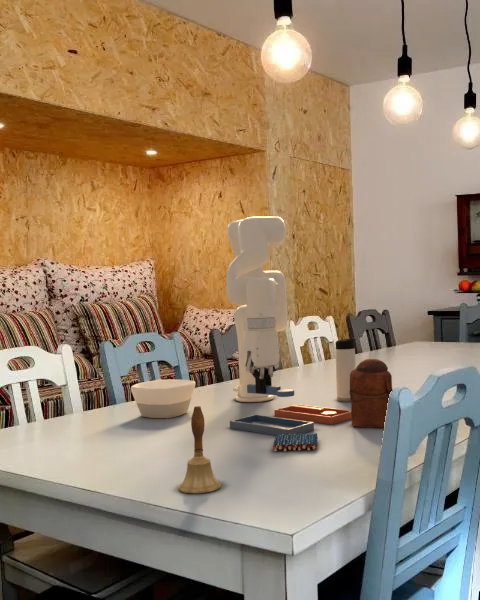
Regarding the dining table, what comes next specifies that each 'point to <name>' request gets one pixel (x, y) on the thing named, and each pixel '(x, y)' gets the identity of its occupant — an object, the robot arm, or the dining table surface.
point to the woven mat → (295, 441)
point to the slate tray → (271, 425)
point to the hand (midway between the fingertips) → (263, 392)
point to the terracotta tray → (340, 416)
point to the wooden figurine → (370, 393)
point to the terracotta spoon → (312, 410)
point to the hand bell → (198, 462)
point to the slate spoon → (272, 390)
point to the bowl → (163, 397)
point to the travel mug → (344, 367)
